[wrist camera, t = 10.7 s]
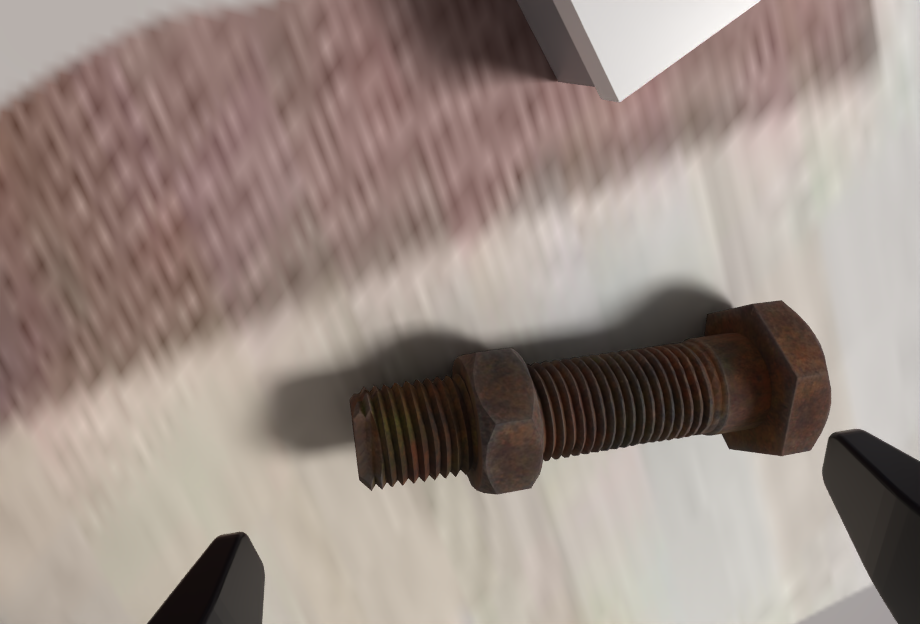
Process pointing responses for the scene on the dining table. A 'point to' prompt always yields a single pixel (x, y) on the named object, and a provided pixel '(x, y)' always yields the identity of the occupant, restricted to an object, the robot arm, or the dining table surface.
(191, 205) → the dining table surface
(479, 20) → the dining table surface
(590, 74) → the scale
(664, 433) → the bolt
